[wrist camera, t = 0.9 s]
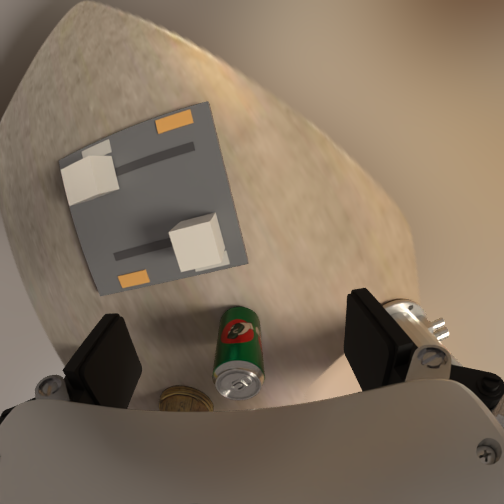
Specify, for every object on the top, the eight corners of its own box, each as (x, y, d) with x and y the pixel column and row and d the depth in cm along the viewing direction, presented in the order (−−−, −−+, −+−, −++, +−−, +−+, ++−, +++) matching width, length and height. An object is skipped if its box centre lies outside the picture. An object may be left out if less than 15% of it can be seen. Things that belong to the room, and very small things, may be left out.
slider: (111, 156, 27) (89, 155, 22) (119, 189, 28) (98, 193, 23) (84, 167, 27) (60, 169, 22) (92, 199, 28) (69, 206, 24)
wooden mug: (133, 401, 40) (102, 482, 23) (189, 378, 38) (168, 478, 21) (166, 429, 43) (149, 507, 25) (224, 410, 41) (218, 503, 23)
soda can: (212, 320, 35) (200, 384, 24) (240, 297, 34) (239, 357, 23) (239, 343, 36) (237, 409, 25) (267, 322, 35) (276, 386, 24)
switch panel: (209, 104, 27) (207, 100, 26) (248, 259, 33) (248, 264, 31) (65, 160, 28) (57, 160, 27) (105, 291, 34) (99, 296, 32)
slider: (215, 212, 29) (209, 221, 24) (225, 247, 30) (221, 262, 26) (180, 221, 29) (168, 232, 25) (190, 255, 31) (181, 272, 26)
